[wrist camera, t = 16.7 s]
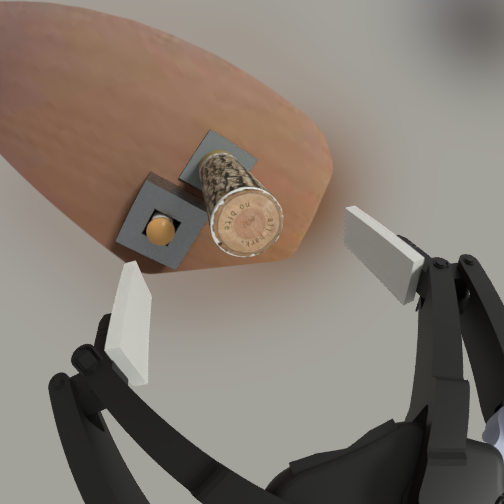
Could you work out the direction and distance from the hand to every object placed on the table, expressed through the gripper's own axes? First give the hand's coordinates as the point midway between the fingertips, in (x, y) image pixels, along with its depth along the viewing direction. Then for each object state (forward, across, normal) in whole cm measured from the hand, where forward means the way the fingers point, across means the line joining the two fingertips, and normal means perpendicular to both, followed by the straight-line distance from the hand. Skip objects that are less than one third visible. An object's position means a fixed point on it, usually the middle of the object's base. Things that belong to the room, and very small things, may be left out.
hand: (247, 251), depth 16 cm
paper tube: (+34, +2, -3) cm, 34 cm away
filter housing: (+34, -10, -9) cm, 36 cm away
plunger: (+33, -10, -9) cm, 36 cm away
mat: (+34, +2, -3) cm, 34 cm away
